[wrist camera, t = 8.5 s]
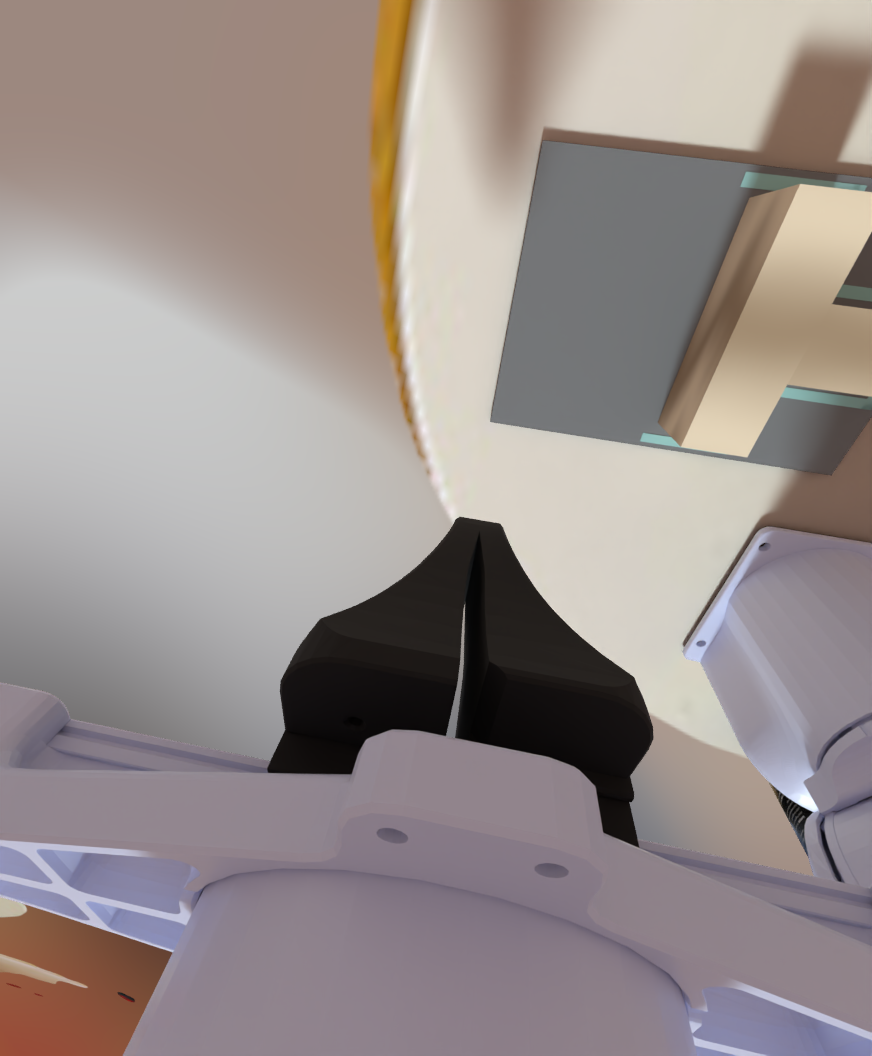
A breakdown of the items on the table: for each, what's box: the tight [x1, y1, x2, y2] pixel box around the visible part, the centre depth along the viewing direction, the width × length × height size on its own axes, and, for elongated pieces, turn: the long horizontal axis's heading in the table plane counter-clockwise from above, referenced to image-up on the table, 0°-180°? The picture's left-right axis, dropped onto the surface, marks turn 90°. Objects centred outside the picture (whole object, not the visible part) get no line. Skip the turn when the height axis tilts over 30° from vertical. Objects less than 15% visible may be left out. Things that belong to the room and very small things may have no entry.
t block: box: [658, 184, 872, 457], centre depth 15 cm, size 8×7×3 cm
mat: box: [490, 140, 872, 475], centre depth 17 cm, size 10×16×1 cm, turn 84°
